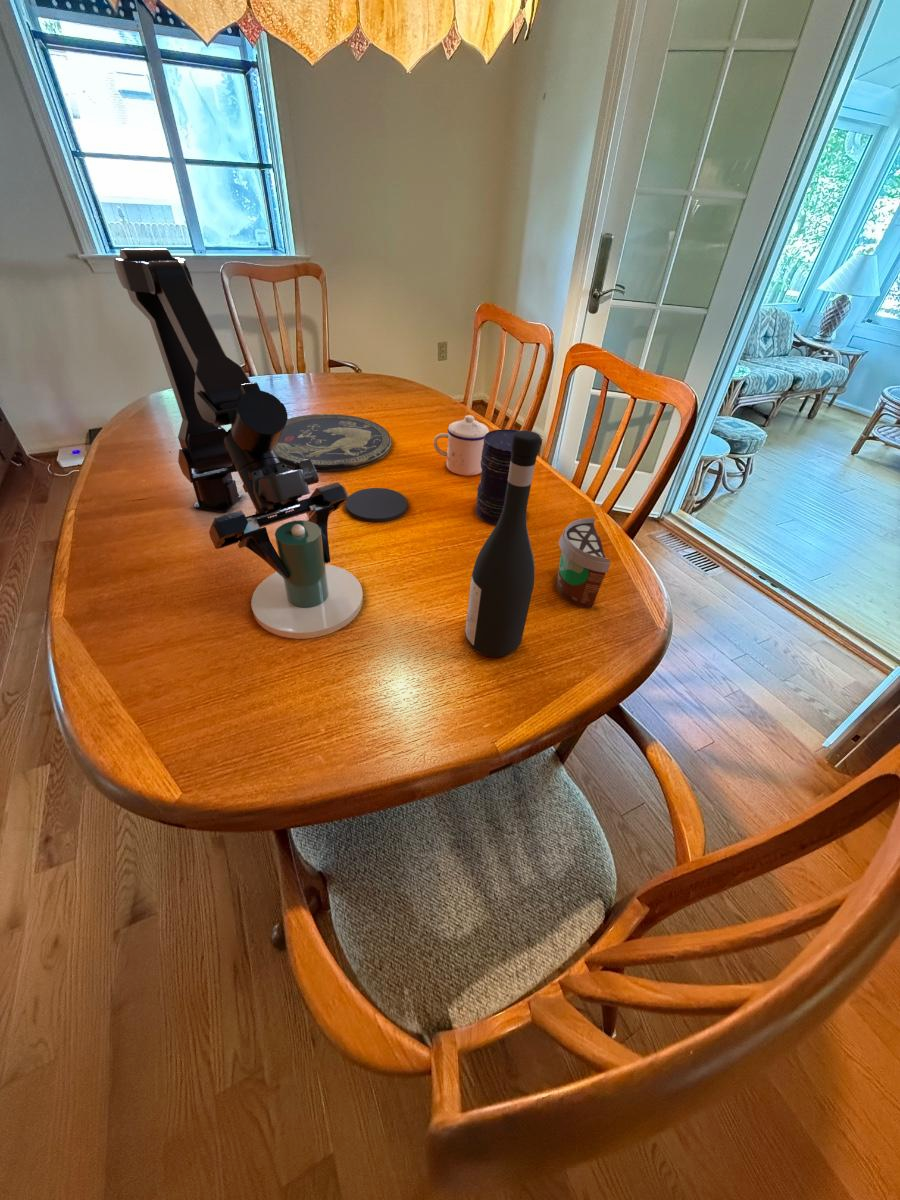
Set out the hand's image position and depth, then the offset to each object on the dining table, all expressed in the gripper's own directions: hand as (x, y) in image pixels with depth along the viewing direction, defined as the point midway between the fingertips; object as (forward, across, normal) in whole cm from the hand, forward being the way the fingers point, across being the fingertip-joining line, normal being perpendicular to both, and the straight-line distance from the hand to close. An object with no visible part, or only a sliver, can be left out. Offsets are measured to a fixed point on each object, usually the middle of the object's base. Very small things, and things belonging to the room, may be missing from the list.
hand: (308, 570), depth 69 cm
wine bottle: (+20, +16, -10) cm, 28 cm away
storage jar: (+2, +43, +7) cm, 43 cm away
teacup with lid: (-12, +50, +21) cm, 55 cm away
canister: (+3, 0, +5) cm, 6 cm away
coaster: (-9, +24, +18) cm, 32 cm away
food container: (+19, +35, -10) cm, 41 cm away
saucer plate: (+4, 0, +6) cm, 7 cm away
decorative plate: (-30, +31, +40) cm, 59 cm away
